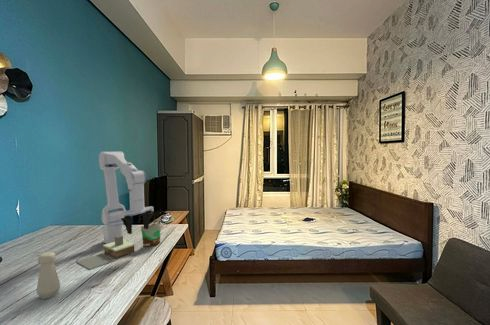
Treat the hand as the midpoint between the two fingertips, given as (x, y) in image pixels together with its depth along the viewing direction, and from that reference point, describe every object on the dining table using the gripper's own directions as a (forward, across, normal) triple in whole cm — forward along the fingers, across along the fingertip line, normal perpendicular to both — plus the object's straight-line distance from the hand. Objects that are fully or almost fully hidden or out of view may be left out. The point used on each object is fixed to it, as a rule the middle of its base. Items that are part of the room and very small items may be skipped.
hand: (138, 231), depth 110 cm
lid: (+7, -4, +8) cm, 12 cm away
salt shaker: (+10, -34, -6) cm, 36 cm away
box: (+10, -4, +8) cm, 13 cm away
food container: (+10, +11, +4) cm, 16 cm away
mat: (+10, -14, +7) cm, 19 cm away
